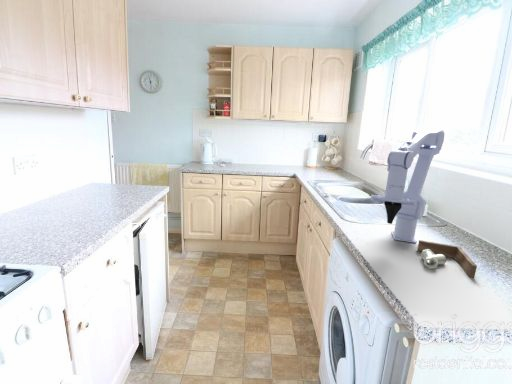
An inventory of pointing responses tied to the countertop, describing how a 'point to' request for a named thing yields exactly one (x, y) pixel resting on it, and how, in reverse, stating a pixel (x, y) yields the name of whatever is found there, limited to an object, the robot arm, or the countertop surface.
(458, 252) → the corner arena
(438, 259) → the pipe fitting
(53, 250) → the countertop surface
